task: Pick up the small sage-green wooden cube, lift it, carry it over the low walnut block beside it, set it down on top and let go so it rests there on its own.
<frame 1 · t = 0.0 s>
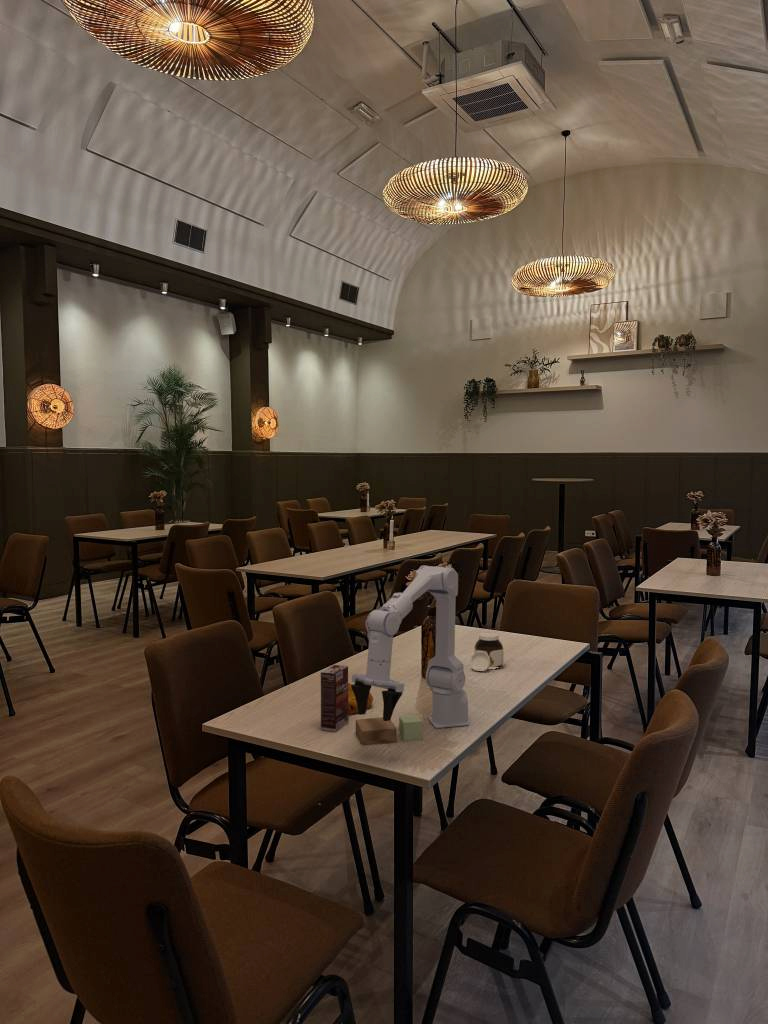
hand: (374, 717, 173), 11 cm above the table, fingers open, 7 cm apart
cube: (410, 737, 189), on the table
spread jar: (486, 669, 252), on the table
supplement box: (335, 726, 197), on the table
block: (375, 738, 189), on the table
croissant: (347, 708, 213), on the table
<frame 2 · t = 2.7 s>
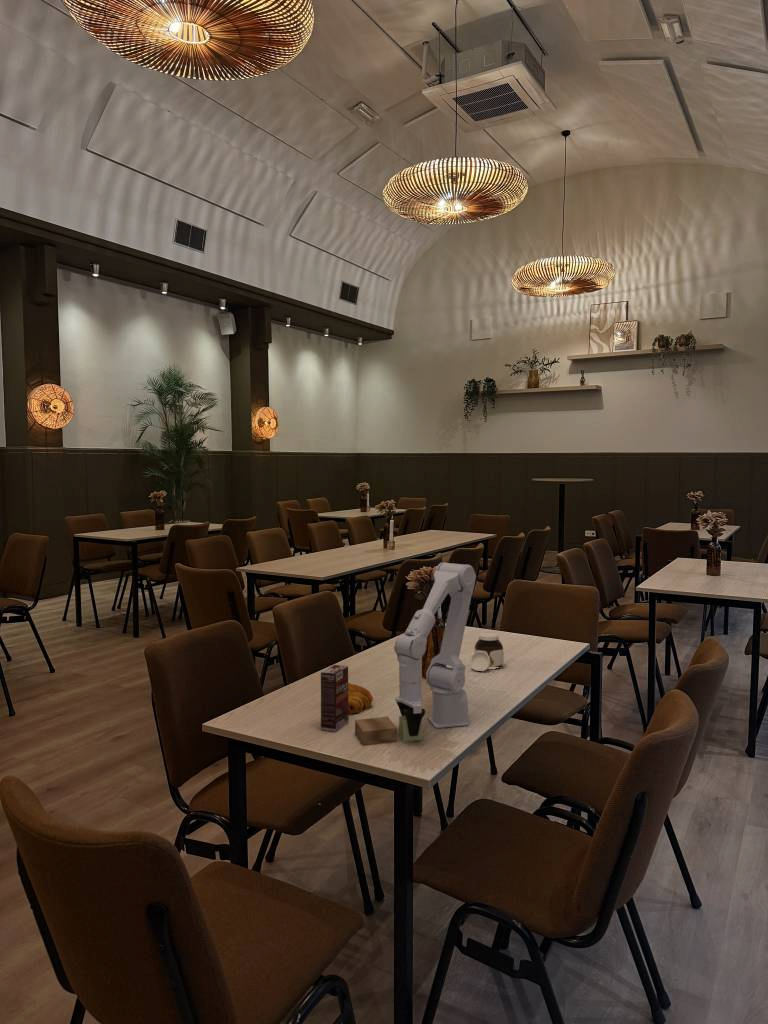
hand: (410, 731, 188), 1 cm above the table, fingers closed on cube, 5 cm apart
cube: (410, 737, 189), on the table, touching gripper
everything else where it was.
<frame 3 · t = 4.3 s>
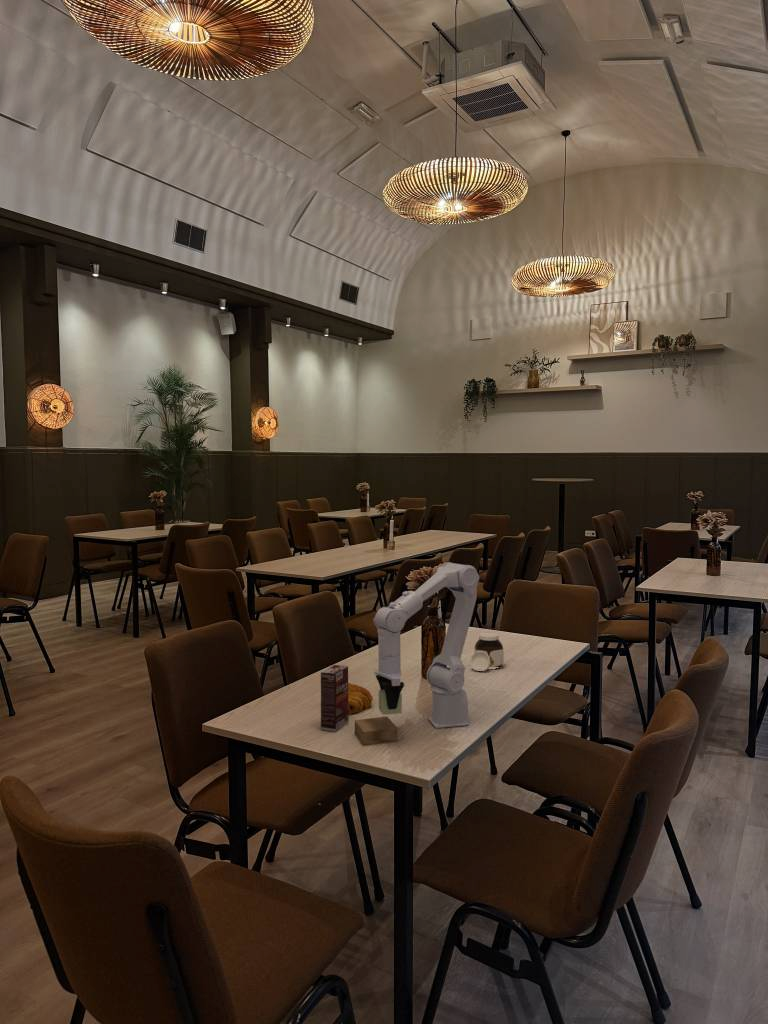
hand: (389, 705, 188), 9 cm above the table, fingers closed on cube, 5 cm apart
cube: (390, 711, 188), point 7 cm above the table, touching gripper
everything else where it was.
when the fingers open (6 cm above the table, at t = 5.9 s): cube drops 1 cm, resting on block.
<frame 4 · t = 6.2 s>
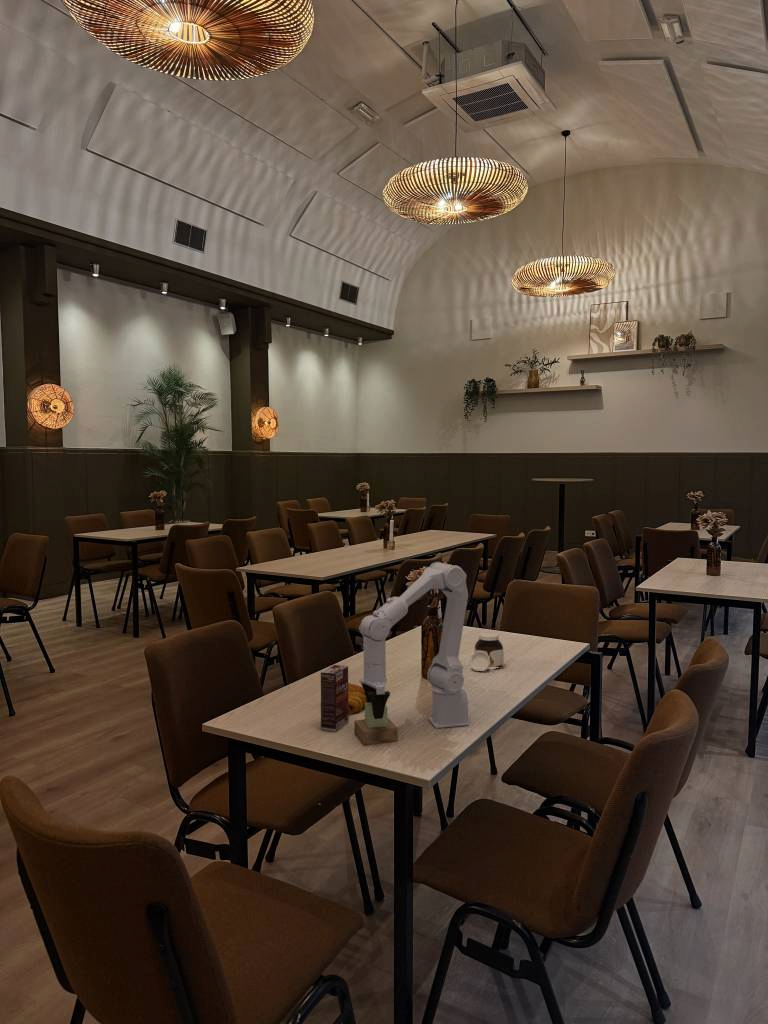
hand: (375, 713, 188), 6 cm above the table, fingers open, 7 cm apart
cube: (376, 723, 189), point 4 cm above the table, touching block
block: (375, 739, 189), on the table, touching cube
everything else where it was.
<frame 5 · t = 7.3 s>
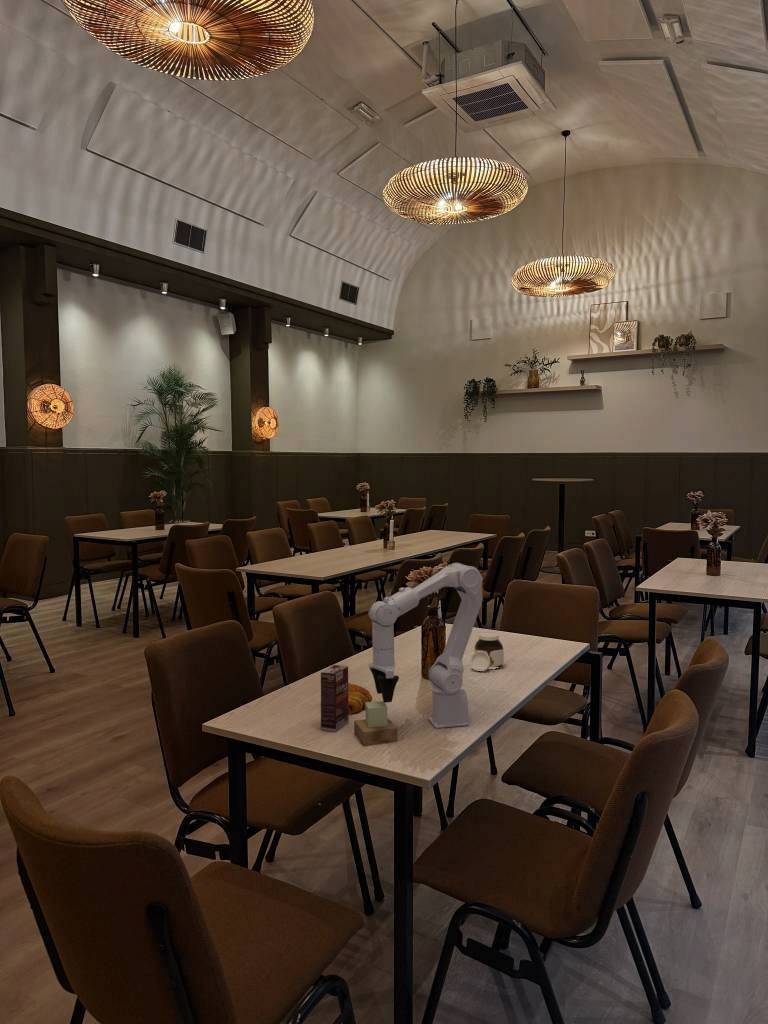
hand: (384, 697, 192), 9 cm above the table, fingers open, 7 cm apart
cube: (376, 723, 189), point 4 cm above the table
block: (375, 739, 188), on the table
everything else where it was.
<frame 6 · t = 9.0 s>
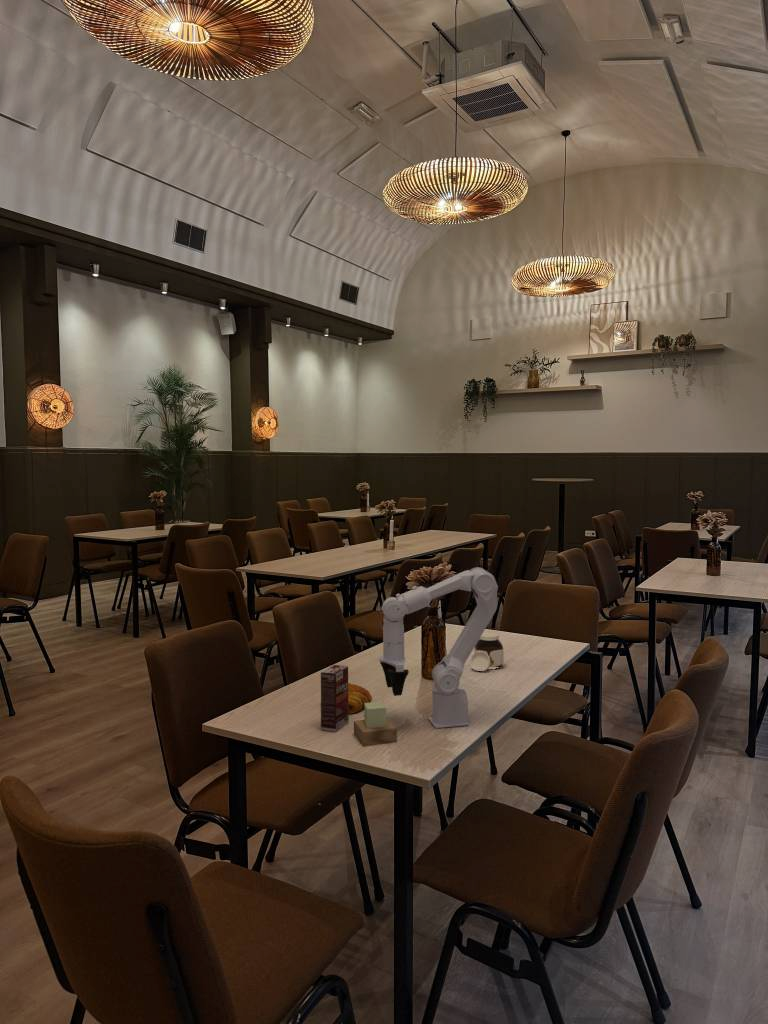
hand: (394, 690, 197), 9 cm above the table, fingers open, 7 cm apart
cube: (375, 724, 188), point 4 cm above the table, touching block
block: (375, 739, 188), on the table, touching cube
everything else where it was.
at the end: cube 0.2 cm off-centre on the block, point 4.0 cm above the block's base; the gripper is holding nothing; cube tilted 0° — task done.
